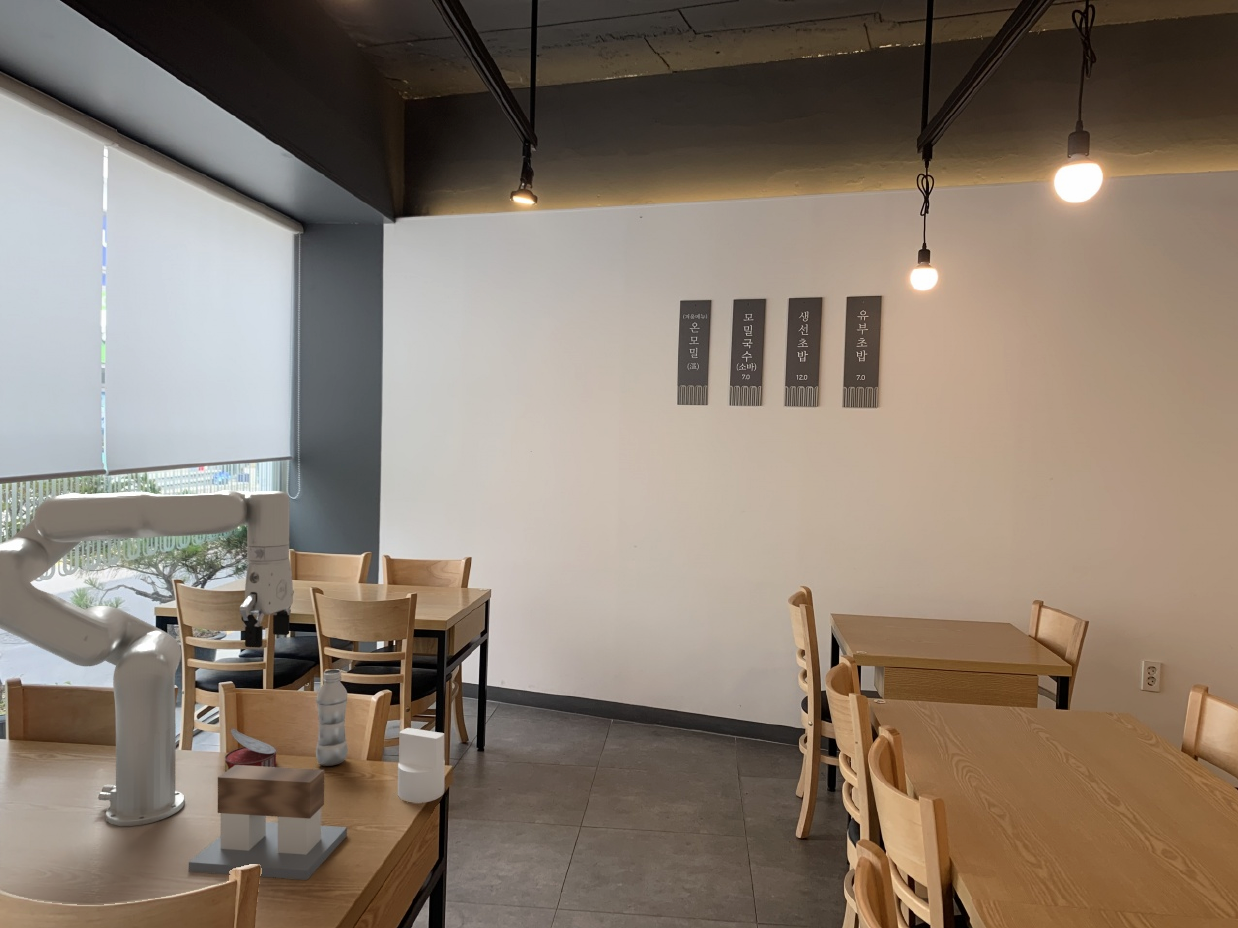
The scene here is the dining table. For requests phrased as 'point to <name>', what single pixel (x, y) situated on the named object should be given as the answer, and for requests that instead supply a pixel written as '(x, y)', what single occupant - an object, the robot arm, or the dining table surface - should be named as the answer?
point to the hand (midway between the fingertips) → (267, 640)
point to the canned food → (250, 753)
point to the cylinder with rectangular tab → (421, 765)
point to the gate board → (270, 846)
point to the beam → (271, 791)
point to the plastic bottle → (331, 720)
